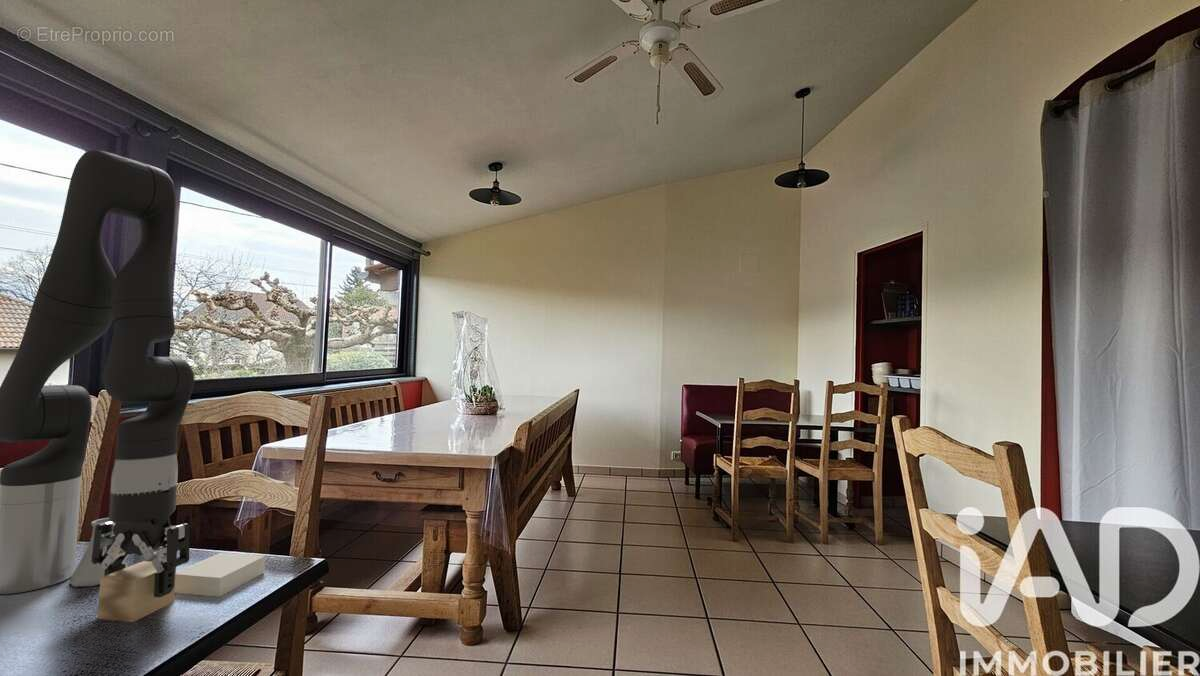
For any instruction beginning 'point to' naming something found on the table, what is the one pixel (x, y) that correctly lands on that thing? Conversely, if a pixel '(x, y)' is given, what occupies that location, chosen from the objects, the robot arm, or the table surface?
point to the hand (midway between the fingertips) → (138, 593)
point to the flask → (89, 564)
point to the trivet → (218, 574)
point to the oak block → (131, 593)
